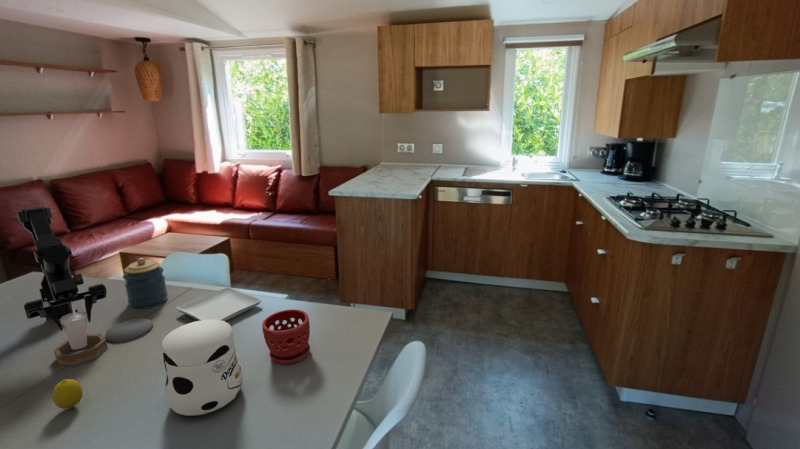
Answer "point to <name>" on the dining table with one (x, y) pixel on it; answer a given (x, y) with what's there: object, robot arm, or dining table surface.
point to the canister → (145, 284)
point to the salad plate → (219, 305)
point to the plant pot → (287, 336)
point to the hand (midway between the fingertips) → (76, 325)
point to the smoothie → (75, 328)
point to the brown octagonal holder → (84, 355)
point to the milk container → (201, 367)
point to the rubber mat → (128, 330)
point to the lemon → (67, 393)
